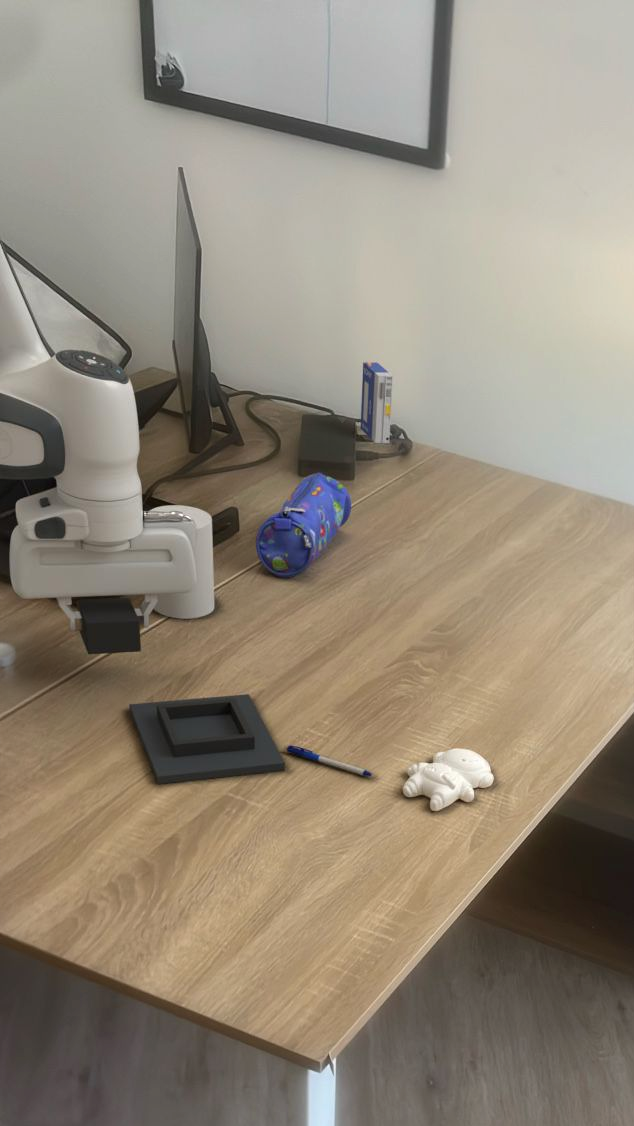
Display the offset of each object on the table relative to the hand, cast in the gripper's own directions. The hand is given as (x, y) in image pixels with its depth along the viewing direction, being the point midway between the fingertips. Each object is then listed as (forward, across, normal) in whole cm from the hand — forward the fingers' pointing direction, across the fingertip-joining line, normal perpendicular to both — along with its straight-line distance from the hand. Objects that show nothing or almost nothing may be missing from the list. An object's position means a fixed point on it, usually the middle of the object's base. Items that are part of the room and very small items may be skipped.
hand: (108, 627), depth 150 cm
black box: (+2, 0, 0) cm, 2 cm away
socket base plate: (+6, -7, +17) cm, 19 cm away
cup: (+7, -13, -18) cm, 23 cm away
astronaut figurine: (+6, -31, +31) cm, 45 cm away
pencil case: (+6, -34, -33) cm, 48 cm away
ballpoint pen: (+6, -20, +24) cm, 32 cm away
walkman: (+7, -62, -83) cm, 104 cm away
